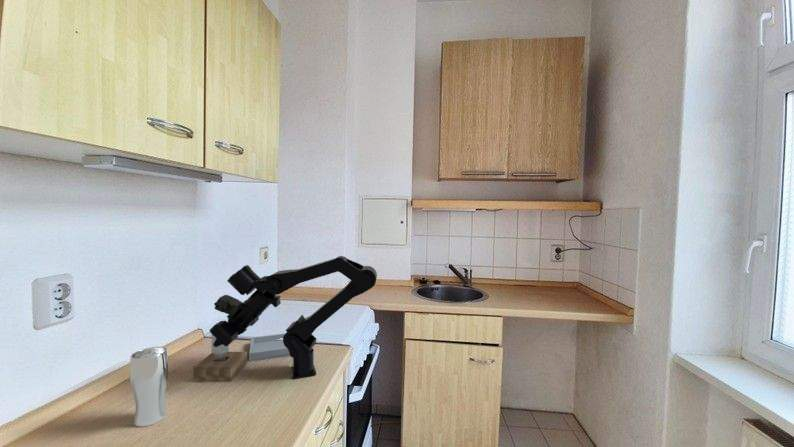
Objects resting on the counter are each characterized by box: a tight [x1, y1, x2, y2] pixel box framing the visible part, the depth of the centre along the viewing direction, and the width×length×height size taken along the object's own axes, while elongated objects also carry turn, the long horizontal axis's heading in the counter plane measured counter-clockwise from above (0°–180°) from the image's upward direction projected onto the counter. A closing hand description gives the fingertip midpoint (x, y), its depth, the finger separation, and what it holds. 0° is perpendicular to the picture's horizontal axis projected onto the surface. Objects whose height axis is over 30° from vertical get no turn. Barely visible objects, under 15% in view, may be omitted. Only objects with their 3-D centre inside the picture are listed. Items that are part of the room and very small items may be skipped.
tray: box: [248, 332, 291, 362], centre depth 112 cm, size 14×14×2 cm
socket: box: [193, 351, 248, 383], centre depth 96 cm, size 10×10×4 cm
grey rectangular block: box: [211, 334, 230, 361], centre depth 95 cm, size 4×2×11 cm, turn 91°
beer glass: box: [129, 346, 170, 428], centre depth 74 cm, size 7×7×15 cm
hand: (216, 344), depth 95 cm, fingers closed on grey rectangular block, 2 cm apart
